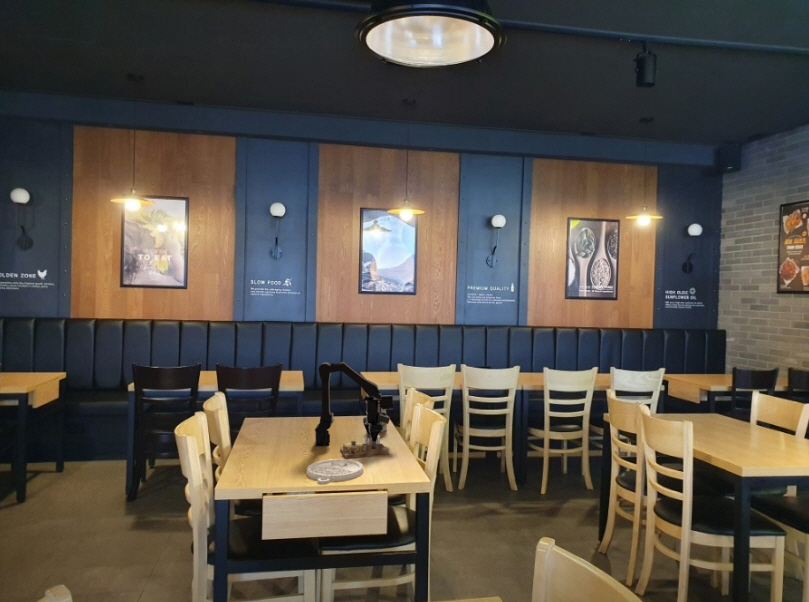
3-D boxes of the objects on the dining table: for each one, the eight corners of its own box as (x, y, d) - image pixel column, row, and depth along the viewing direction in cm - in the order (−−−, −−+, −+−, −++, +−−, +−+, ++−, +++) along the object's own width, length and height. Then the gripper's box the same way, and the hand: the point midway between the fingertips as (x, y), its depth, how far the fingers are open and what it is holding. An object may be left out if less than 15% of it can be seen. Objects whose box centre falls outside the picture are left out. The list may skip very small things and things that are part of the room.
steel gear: (366, 446, 275) (366, 438, 275) (363, 442, 282) (363, 435, 282) (381, 445, 277) (381, 437, 277) (378, 441, 284) (378, 434, 284)
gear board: (345, 458, 254) (345, 446, 254) (340, 450, 268) (340, 438, 268) (388, 454, 260) (388, 442, 260) (381, 446, 273) (381, 435, 273)
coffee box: (387, 429, 307) (387, 400, 307) (381, 432, 302) (381, 402, 301) (372, 428, 311) (372, 398, 311) (366, 430, 305) (366, 400, 305)
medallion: (370, 466, 245) (370, 460, 244) (350, 486, 218) (350, 480, 218) (319, 462, 250) (319, 457, 250) (293, 482, 223) (293, 476, 223)
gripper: (393, 412, 272) (393, 444, 272) (384, 404, 290) (384, 435, 290) (370, 413, 269) (370, 446, 269) (362, 406, 287) (362, 437, 287)
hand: (372, 441), depth 279 cm, fingers open, 9 cm apart
